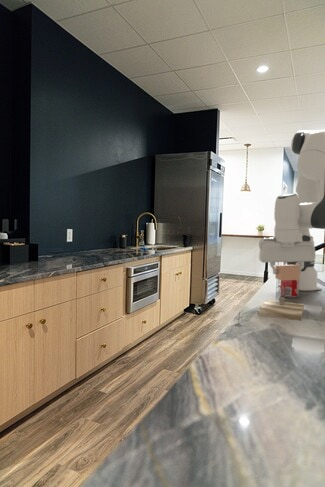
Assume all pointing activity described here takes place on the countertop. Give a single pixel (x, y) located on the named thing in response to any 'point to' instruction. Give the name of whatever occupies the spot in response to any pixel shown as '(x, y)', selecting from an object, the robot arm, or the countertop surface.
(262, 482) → the countertop surface
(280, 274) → the block
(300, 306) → the pin plate
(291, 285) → the soda can
